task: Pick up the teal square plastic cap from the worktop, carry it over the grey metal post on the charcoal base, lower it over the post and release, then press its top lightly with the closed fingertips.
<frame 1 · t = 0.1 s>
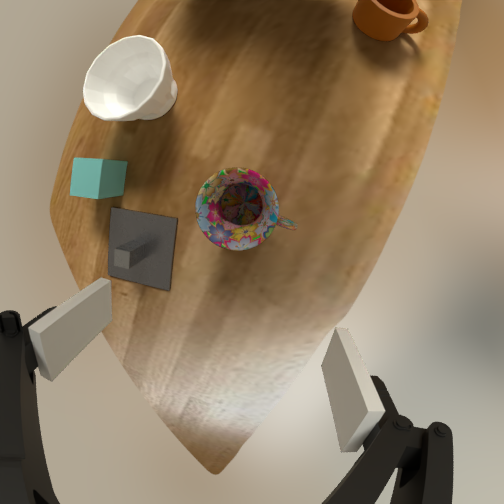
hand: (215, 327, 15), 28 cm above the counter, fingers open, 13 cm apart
cup: (153, 96, 37), on the counter
mug 2: (383, 26, 31), on the counter
cap: (111, 176, 41), on the counter
mug: (253, 205, 41), on the counter
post: (140, 248, 44), on the counter
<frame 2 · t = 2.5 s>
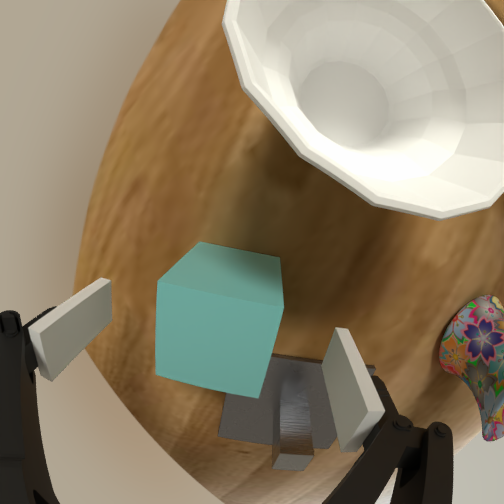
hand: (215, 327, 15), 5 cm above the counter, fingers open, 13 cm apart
cup: (342, 105, 16), on the counter
cap: (232, 286, 20), on the counter
mug: (475, 333, 20), on the counter
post: (290, 407, 23), on the counter
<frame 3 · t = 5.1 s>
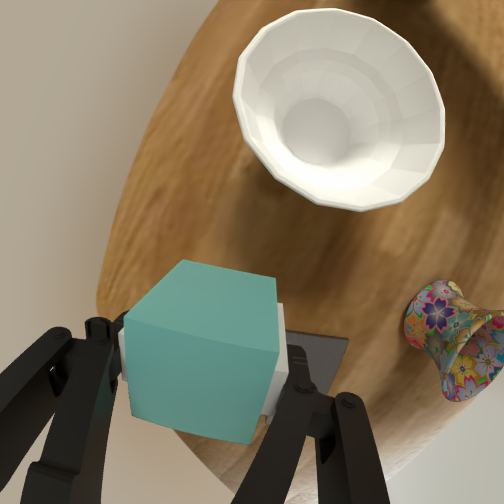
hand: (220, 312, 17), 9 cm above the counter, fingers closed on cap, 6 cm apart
cup: (315, 132, 23), on the counter
cap: (221, 310, 17), point 9 cm above the counter, touching gripper
mug: (438, 314, 27), on the counter
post: (279, 376, 29), on the counter
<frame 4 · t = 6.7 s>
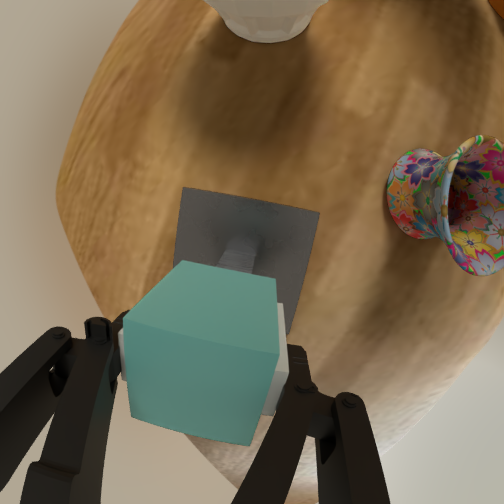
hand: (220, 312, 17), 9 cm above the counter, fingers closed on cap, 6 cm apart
cup: (266, 12, 19), on the counter
cap: (221, 311, 17), point 9 cm above the counter, touching gripper
mug: (429, 198, 23), on the counter
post: (238, 263, 26), on the counter
when the fingers open (1 cm above the counter, at t = 8.4 s): cap stays where it is, resting on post.
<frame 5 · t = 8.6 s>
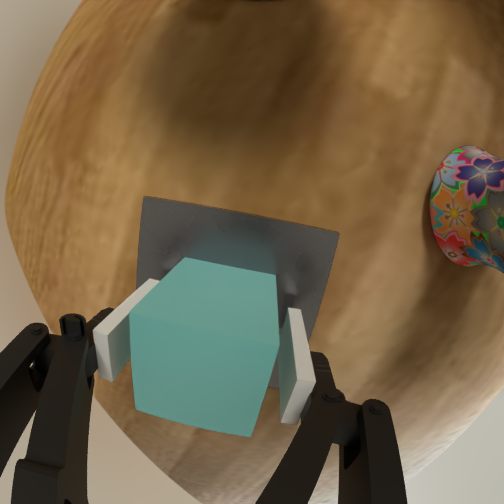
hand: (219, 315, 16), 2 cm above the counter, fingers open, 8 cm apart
cap: (222, 307, 18), resting on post
mug: (476, 212, 16), on the counter
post: (223, 303, 18), on the counter
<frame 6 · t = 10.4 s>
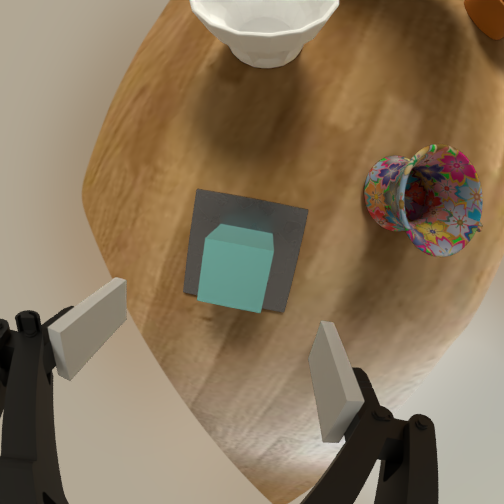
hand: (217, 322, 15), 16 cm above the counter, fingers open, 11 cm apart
cup: (265, 39, 25), on the counter
mug 2: (489, 24, 19), on the counter
cap: (242, 253, 31), resting on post
mug: (403, 197, 29), on the counter
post: (242, 252, 31), on the counter
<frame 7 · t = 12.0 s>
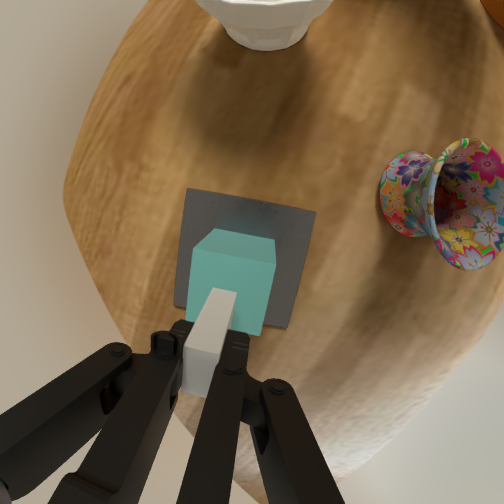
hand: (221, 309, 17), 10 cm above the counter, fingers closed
cup: (266, 20, 21), on the counter
mug 2: (502, 16, 15), on the counter
cap: (239, 262, 27), resting on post
mug: (421, 198, 24), on the counter
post: (239, 260, 27), on the counter
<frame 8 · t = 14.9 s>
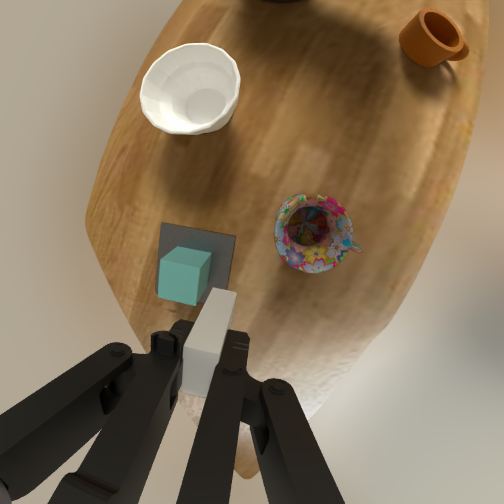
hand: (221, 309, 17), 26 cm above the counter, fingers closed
cup: (207, 107, 38), on the counter
mug 2: (426, 51, 32), on the counter
cap: (192, 266, 44), resting on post
mug: (311, 224, 42), on the counter
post: (193, 265, 45), on the counter
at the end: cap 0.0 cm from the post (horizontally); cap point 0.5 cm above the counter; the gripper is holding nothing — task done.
